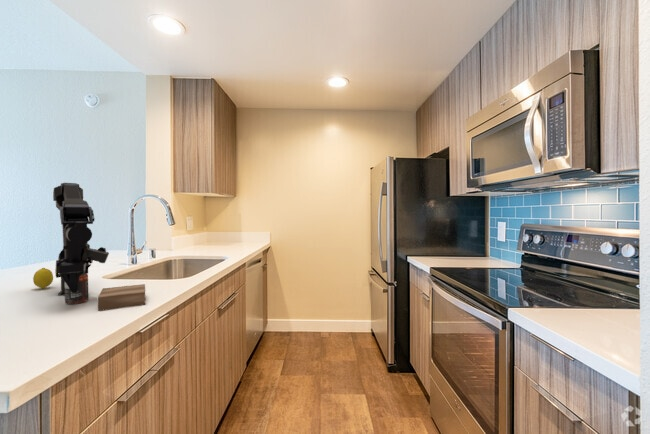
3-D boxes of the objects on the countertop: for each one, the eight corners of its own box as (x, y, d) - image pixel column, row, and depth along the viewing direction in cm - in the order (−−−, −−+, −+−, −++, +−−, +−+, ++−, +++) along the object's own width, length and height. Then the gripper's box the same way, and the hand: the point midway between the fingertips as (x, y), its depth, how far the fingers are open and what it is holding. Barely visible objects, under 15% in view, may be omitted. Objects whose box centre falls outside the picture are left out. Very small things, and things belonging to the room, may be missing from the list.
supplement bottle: (86, 298, 102) (85, 265, 102) (90, 301, 98) (90, 267, 98) (62, 302, 97) (62, 267, 97) (67, 306, 94) (66, 270, 93)
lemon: (50, 286, 118) (49, 265, 117) (55, 288, 115) (55, 267, 115) (31, 289, 113) (30, 268, 113) (36, 291, 110) (36, 269, 110)
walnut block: (102, 300, 100) (102, 288, 100) (145, 295, 106) (145, 284, 106) (97, 311, 89) (97, 297, 89) (145, 304, 95) (144, 292, 95)
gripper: (103, 243, 93) (104, 293, 94) (109, 238, 110) (110, 281, 110) (56, 245, 88) (57, 298, 88) (70, 239, 104) (70, 284, 104)
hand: (76, 289), depth 98 cm, fingers open, 7 cm apart
